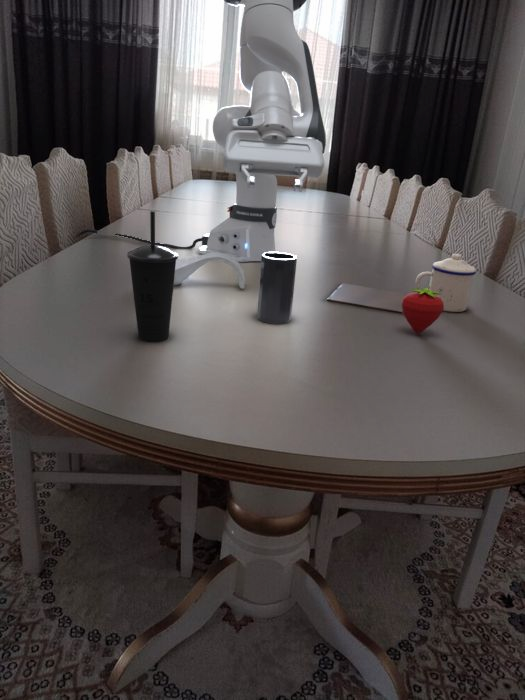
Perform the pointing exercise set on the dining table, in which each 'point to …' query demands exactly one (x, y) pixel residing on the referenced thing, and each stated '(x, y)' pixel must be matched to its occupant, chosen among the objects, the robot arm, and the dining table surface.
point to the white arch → (192, 264)
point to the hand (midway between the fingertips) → (274, 188)
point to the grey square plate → (368, 297)
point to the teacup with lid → (451, 282)
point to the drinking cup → (152, 287)
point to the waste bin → (276, 287)
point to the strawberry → (422, 308)
